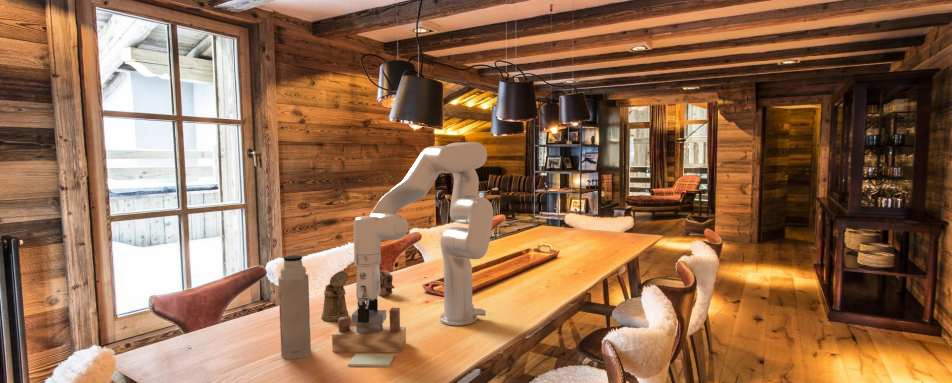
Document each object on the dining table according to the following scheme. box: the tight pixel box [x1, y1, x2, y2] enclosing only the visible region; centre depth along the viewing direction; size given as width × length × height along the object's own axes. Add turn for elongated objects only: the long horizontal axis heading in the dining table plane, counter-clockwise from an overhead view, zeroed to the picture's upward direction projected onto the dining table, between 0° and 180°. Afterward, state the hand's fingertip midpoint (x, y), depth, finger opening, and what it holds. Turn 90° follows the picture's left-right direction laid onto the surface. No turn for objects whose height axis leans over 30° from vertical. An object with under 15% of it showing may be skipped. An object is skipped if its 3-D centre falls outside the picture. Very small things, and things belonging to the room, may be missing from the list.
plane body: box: [331, 307, 407, 353], centre depth 148 cm, size 20×7×11 cm, turn 87°
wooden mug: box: [321, 271, 349, 322], centre depth 174 cm, size 9×14×18 cm, turn 30°
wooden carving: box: [378, 269, 395, 297], centre depth 204 cm, size 16×5×10 cm, turn 41°
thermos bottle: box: [277, 254, 312, 360], centre depth 144 cm, size 8×8×28 cm
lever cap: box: [351, 309, 387, 324], centre depth 148 cm, size 9×5×3 cm, turn 87°
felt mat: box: [347, 353, 395, 368], centre depth 139 cm, size 11×7×1 cm, turn 87°
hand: (368, 317), depth 148 cm, fingers open, 9 cm apart
